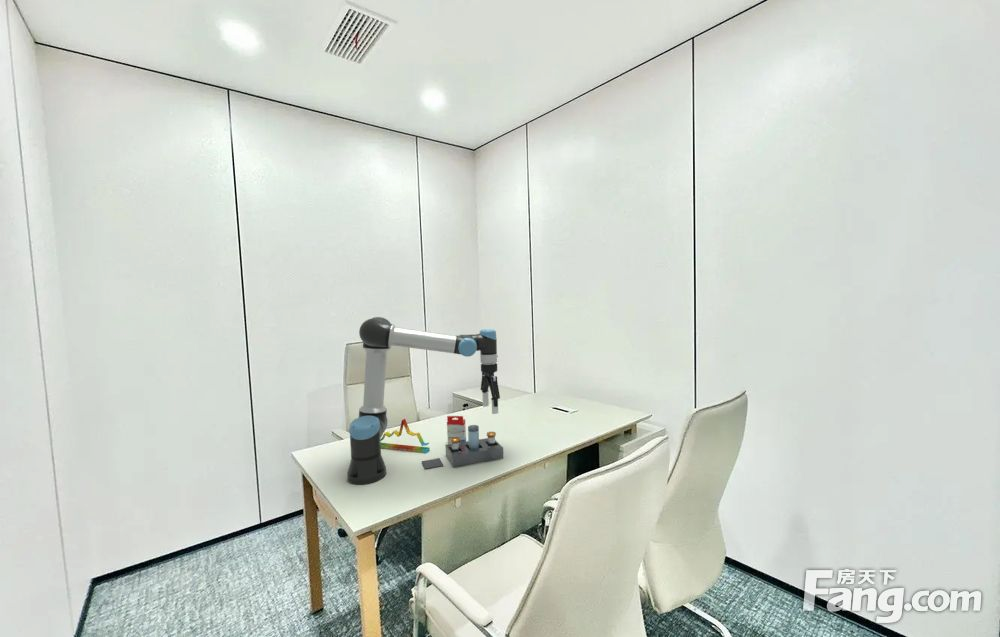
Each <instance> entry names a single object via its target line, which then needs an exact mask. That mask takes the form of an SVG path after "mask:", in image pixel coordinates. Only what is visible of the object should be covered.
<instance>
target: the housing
mask: <svg viewBox="0 0 1000 637" xmlns="http://www.w3.org/2000/svg"><path fill="white" fill-rule="evenodd" d="M444 450H445V457H446V458H447V460H448V462H449V463H450V465H451V467H452V468H459V467H464V466H469V465H474V464H475V465H476V464H481V463H486V462H487V463H488V462H492V461H498V460H503V459H504V447H503V446H502V445H501V444H500V442H498V441H497V440H496V439H495V446H488V437H487V438H479V448H478V449H472V450H469V445H468V440H466V442H460V443H459V452H454V453H452V444H448V443H447V444H445V448H444Z"/></svg>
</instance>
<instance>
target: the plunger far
mask: <svg viewBox="0 0 1000 637" xmlns="http://www.w3.org/2000/svg"><path fill="white" fill-rule="evenodd" d="M486 436H487V438H488V446H495V440H496V436H497V433H496V432H495V431H488V432H486Z"/></svg>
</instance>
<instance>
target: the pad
mask: <svg viewBox="0 0 1000 637" xmlns="http://www.w3.org/2000/svg"><path fill="white" fill-rule="evenodd" d="M421 463H422V466H423V468H424V470H432V469H436V468H437V469H438V468H442V467H444V463H443V461H442V460H441V458H439V457H437V458H432V459H426V460H422V461H421Z"/></svg>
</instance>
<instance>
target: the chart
mask: <svg viewBox="0 0 1000 637" xmlns="http://www.w3.org/2000/svg"><path fill="white" fill-rule="evenodd" d="M400 423H401V424H400V428H399V431H398V430H397V429H395V430H393V431H392V433H390V432H389V431H386V432H384V433H383V435H382V437H381V440H380V441H381V450H382V449H383V450H384V449H385V450H391V451H402V452H411V453H418V454H419V453H420V454H422V453H423V454H428V453H429V452H430V447H429V446H428V445H429V444H430V442H425V441H424V439H423V437H422V435H421V433H420V432H414V431H411V430H410V428H409V425H408V422H407V420H406V418H404V419H402V420H401V422H400ZM403 429H405V432H406V434H407V435H409V436H413V437H414V436H416V437H417V439H418V441H419V442H420V445H421V446H417V445H410V444H409V445H406V444H398V443H388V442H383V440H384V439H385V438H386V437H387V438H391V437H392V436H394V434H395V436H396V437H397V438H399V437H401V436H402V434H403Z"/></svg>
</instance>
